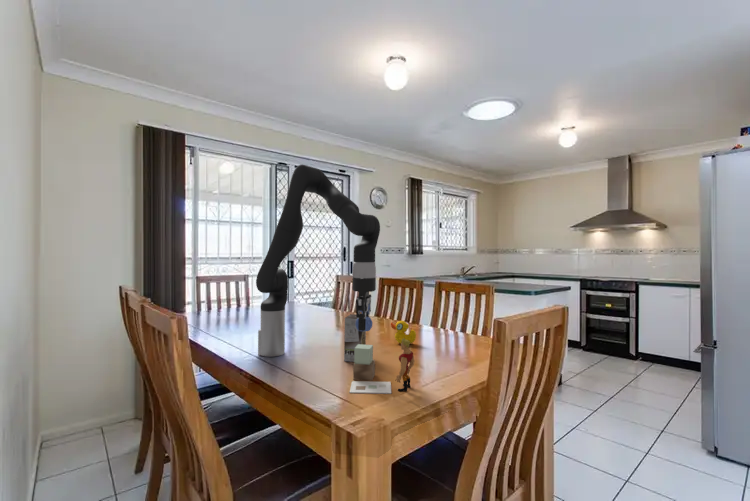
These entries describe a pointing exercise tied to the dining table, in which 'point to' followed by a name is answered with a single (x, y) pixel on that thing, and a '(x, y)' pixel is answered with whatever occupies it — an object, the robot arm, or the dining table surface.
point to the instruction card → (370, 387)
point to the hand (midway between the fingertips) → (363, 328)
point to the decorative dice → (368, 324)
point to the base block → (364, 371)
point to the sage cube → (363, 354)
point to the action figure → (405, 364)
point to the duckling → (402, 328)
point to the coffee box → (352, 337)
